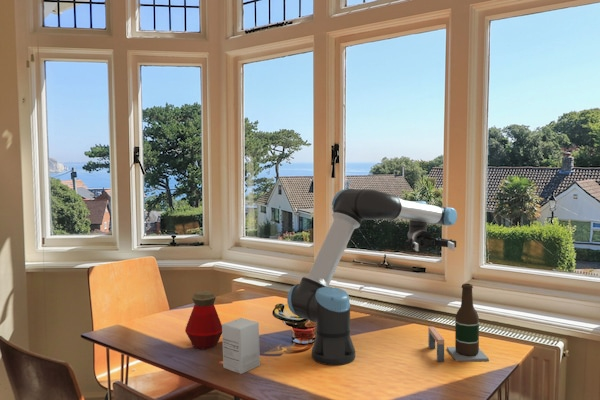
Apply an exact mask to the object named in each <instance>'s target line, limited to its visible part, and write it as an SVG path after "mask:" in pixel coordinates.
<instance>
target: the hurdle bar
mask: <svg viewBox="0 0 600 400" xmlns="http://www.w3.org/2000/svg"><path fill="white" fill-rule="evenodd" d="M427 328H428V331H429V332H430V334H431V335H432V336H433V338H434V339H435V343H436V344H437V343H438V344H444V345H445V339H444V338H443V336H442V335H441V333H440V332H439V331H438V330H437V329H436V328H435V326H428V327H427ZM428 331H427V332H428Z"/></svg>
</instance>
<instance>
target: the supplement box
mask: <svg viewBox="0 0 600 400" xmlns="http://www.w3.org/2000/svg"><path fill="white" fill-rule="evenodd" d="M221 324H222V335H221V338H222V339H221V340H222V360H223V361H222V366H223V367H222V368H223V369H226V370H228V371H232V372H234V373H237V374H240V375H242V374H244V373H247V372H249V371H252V370H253V369H256V368H258V367H260V365H261V357H260V356H261V355H260V353H261V352H260V351H261V350H260V327H259V326H260V324H259V322H258V321H255V320H250V319H247V318H244V317H239V318H237V319H233V320H231V321H228V322H227V321H226V322H225V323H221Z"/></svg>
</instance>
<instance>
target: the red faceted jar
mask: <svg viewBox="0 0 600 400" xmlns="http://www.w3.org/2000/svg"><path fill="white" fill-rule="evenodd" d="M216 297H217V296H216V295H215V294H214V293H213V292H212V291H210V290H198V291H196V292H195V293H194V294H193V295H192V296H191V299H192V301H193V303H194V305H193V308H192V310H191V312H190V316H189V318H188V321H187V323H186V326H185V334H186V336H187V337H188V339H189V340H190V342H191V344H192V346H193V348H195V349H199V350H208V349H213V348H214V347H216V346H217V344H218V343H219V340H220V338H222V324H223V323H222V322H221V320H220V317H219V314H218V312H217V309H216V307H215V302H216Z"/></svg>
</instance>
